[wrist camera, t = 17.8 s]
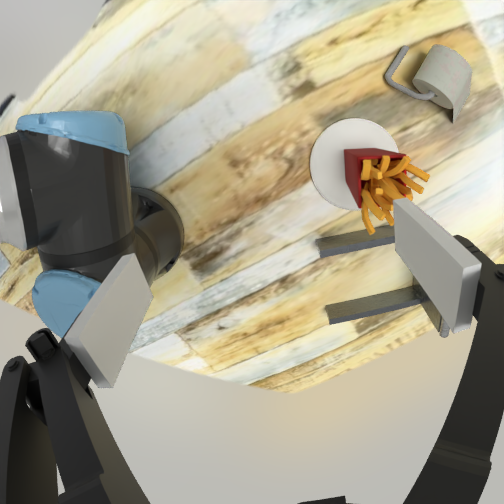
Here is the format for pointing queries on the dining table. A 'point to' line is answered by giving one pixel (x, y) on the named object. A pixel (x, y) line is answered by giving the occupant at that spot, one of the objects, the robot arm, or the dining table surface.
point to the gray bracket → (379, 301)
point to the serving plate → (332, 156)
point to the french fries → (379, 181)
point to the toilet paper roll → (438, 78)
